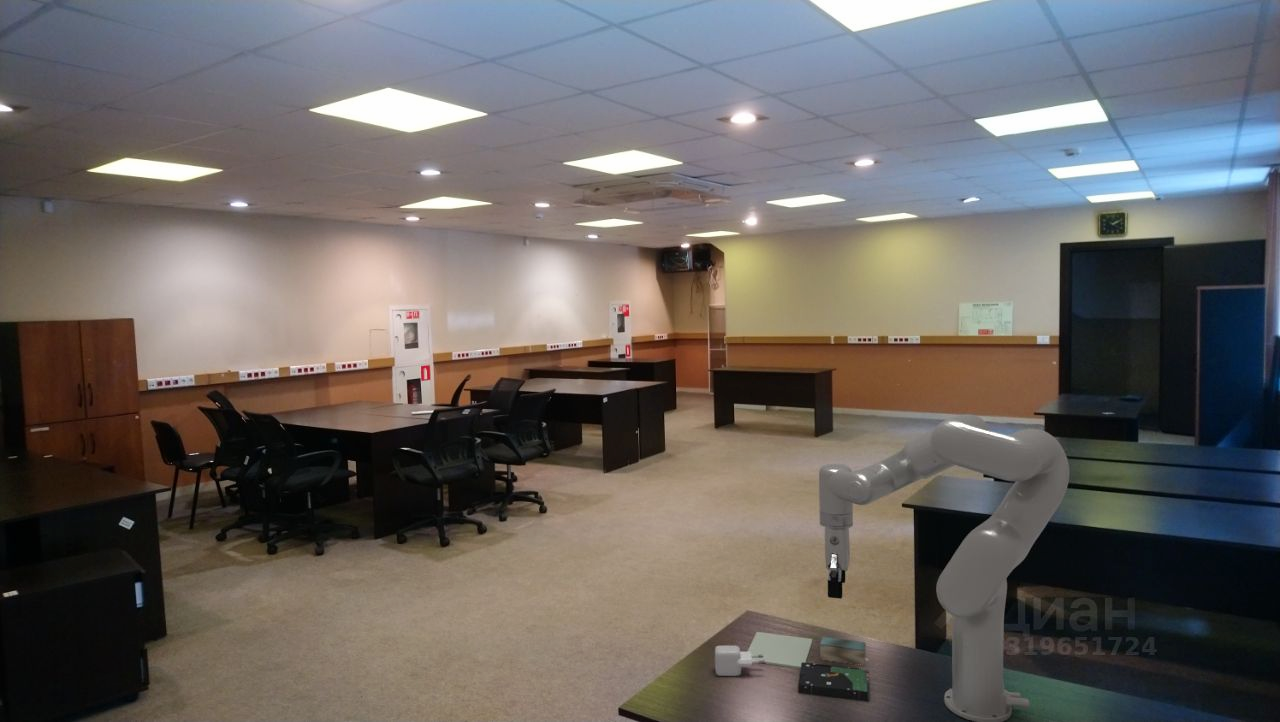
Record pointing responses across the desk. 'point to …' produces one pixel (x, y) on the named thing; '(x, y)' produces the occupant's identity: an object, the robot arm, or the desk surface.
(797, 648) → the mat
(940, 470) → the robot arm
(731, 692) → the desk surface
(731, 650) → the power adapter
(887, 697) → the desk surface
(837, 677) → the disk drive
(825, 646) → the teal-faced wooden block
